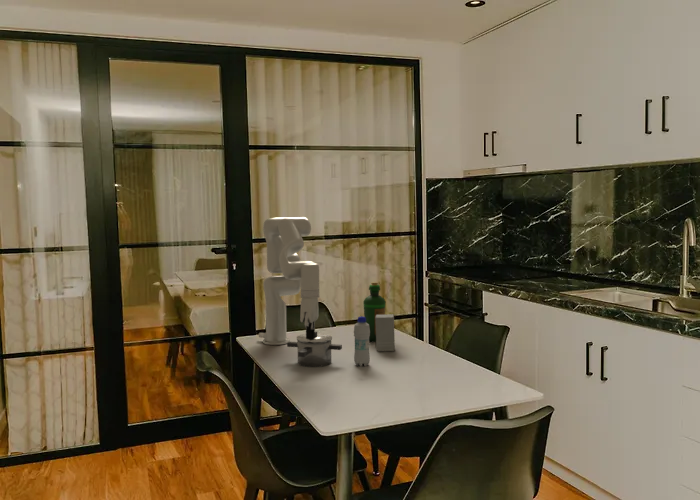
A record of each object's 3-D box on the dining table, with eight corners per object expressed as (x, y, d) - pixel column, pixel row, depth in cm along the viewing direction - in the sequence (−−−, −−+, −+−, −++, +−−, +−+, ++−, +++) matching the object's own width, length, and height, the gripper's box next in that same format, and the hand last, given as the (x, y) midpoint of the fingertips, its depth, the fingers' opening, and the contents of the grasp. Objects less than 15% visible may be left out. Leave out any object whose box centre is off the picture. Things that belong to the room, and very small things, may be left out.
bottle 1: (368, 367, 244) (368, 318, 243) (352, 366, 246) (352, 317, 244) (371, 363, 251) (371, 315, 249) (355, 362, 252) (355, 314, 251)
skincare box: (394, 348, 276) (394, 313, 275) (394, 352, 269) (394, 316, 268) (376, 348, 277) (376, 313, 276) (375, 351, 270) (375, 316, 269)
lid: (291, 341, 247) (291, 334, 247) (303, 335, 261) (303, 328, 261) (325, 343, 243) (325, 336, 243) (336, 336, 257) (336, 329, 257)
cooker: (273, 370, 240) (273, 347, 239) (295, 355, 263) (295, 334, 263) (329, 374, 234) (329, 351, 233) (346, 359, 257) (346, 337, 257)
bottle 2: (386, 342, 288) (386, 283, 285) (363, 342, 288) (363, 283, 286) (385, 337, 298) (385, 280, 296) (363, 337, 298) (363, 280, 296)
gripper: (307, 290, 254) (307, 334, 255) (294, 296, 239) (295, 342, 241) (324, 291, 252) (324, 335, 253) (312, 296, 237) (313, 343, 239)
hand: (310, 338), depth 247 cm, fingers closed
